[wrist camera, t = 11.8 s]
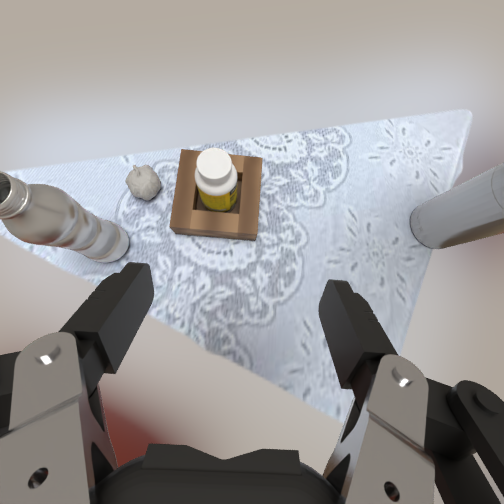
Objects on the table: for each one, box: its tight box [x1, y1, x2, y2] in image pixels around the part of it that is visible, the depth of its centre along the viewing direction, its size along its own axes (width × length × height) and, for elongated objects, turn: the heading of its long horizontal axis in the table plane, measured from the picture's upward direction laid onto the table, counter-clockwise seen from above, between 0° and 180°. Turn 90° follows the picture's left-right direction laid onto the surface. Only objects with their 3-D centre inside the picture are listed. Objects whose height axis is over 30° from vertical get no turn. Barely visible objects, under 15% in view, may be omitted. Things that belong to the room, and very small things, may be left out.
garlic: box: [125, 165, 161, 201], centre depth 39 cm, size 6×5×5 cm
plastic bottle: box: [0, 171, 129, 263], centre depth 29 cm, size 6×7×20 cm
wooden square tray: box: [169, 149, 262, 241], centre depth 40 cm, size 14×14×4 cm
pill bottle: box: [195, 148, 237, 213], centre depth 35 cm, size 6×6×11 cm
